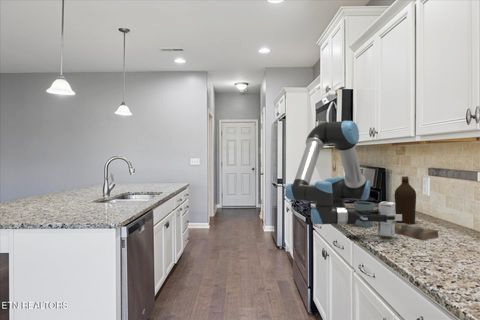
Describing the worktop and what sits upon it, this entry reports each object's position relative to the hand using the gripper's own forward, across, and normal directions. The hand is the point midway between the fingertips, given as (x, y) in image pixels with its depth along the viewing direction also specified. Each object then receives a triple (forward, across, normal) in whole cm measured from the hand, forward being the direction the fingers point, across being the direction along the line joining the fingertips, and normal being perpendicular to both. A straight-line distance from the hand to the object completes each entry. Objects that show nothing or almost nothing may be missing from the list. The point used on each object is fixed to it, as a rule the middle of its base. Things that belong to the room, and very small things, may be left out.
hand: (397, 215), depth 149 cm
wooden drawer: (+9, -7, -10) cm, 15 cm away
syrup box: (-5, 0, -9) cm, 10 cm away
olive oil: (+16, -33, -11) cm, 38 cm away
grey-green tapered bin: (-8, -25, -10) cm, 28 cm away
